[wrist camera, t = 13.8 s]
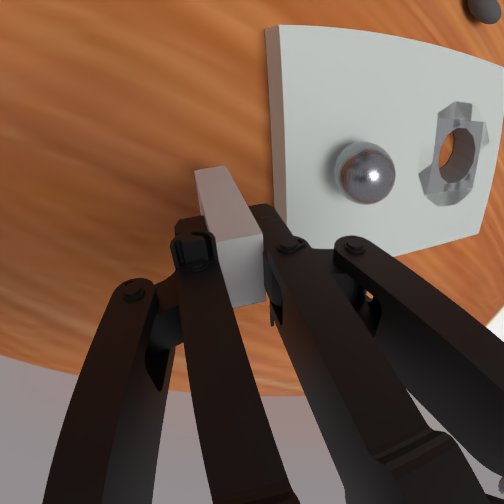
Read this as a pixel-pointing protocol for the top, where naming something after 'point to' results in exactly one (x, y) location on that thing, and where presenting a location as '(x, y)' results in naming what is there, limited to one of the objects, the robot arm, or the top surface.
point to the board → (381, 134)
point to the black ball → (485, 10)
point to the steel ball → (364, 173)
